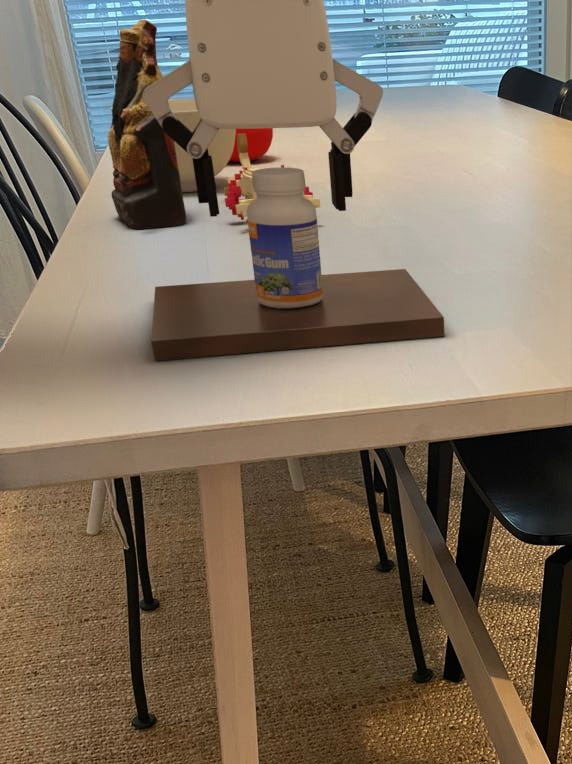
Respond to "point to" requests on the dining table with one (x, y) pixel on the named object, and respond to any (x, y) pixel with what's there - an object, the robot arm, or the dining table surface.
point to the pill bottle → (284, 240)
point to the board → (290, 316)
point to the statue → (142, 140)
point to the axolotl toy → (248, 184)
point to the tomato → (253, 143)
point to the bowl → (217, 149)
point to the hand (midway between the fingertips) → (277, 210)
